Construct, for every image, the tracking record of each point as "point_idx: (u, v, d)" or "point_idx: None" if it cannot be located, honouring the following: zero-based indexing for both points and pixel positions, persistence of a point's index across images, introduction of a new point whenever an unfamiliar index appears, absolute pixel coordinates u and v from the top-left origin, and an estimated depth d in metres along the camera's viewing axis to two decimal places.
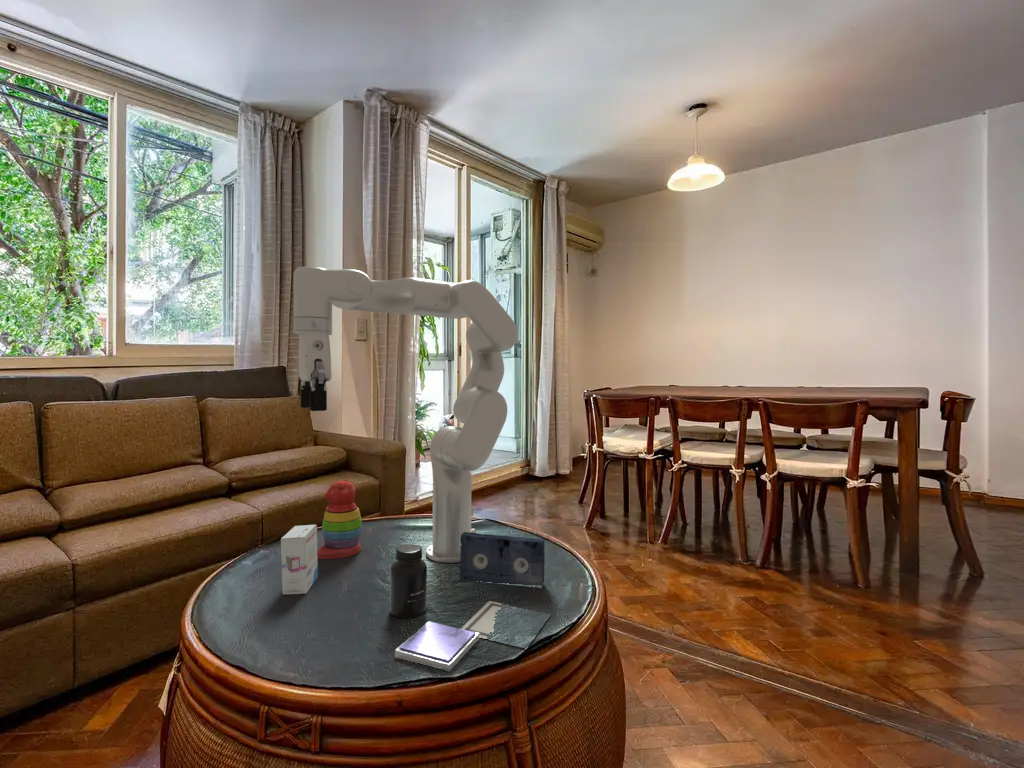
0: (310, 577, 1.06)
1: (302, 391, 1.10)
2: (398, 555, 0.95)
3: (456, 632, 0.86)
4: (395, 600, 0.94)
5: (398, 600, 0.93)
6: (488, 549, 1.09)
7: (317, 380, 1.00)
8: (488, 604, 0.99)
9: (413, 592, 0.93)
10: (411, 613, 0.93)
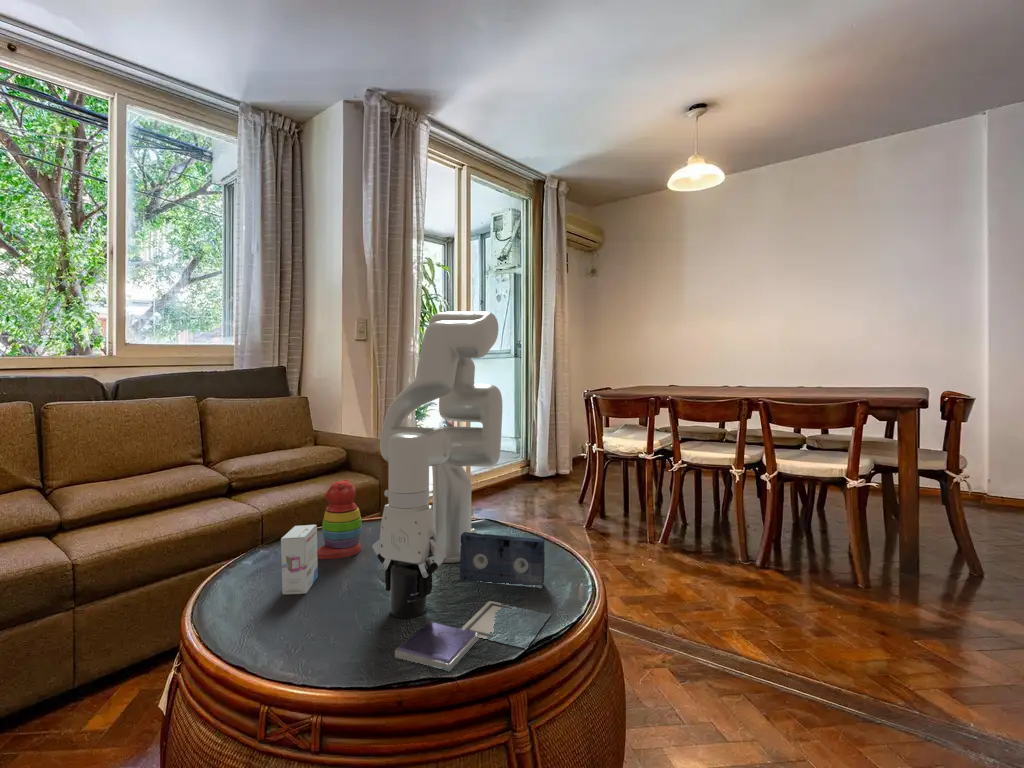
0: (310, 577, 1.06)
1: None
2: None
3: (456, 632, 0.86)
4: (395, 600, 0.94)
5: (398, 599, 0.93)
6: (488, 549, 1.09)
7: None
8: (488, 604, 0.99)
9: (413, 591, 0.93)
10: (411, 613, 0.93)
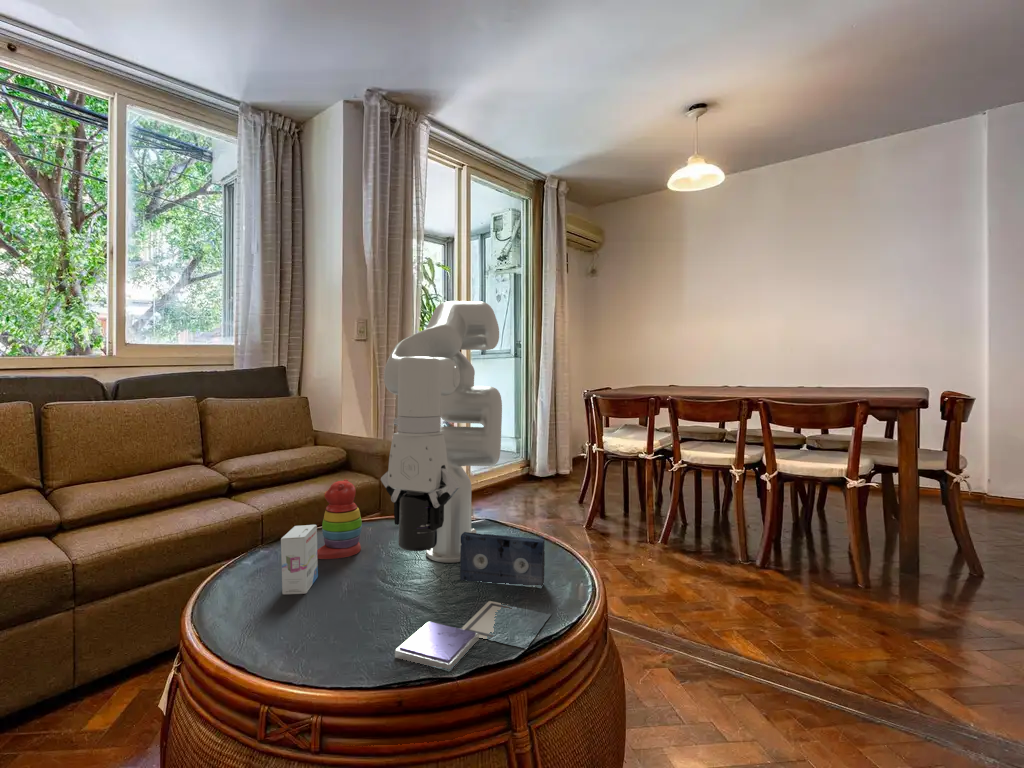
0: (310, 577, 1.06)
1: None
2: None
3: (456, 632, 0.86)
4: (404, 532, 0.88)
5: (408, 531, 0.88)
6: (488, 549, 1.09)
7: None
8: (488, 604, 0.99)
9: (423, 523, 0.88)
10: (421, 546, 0.88)
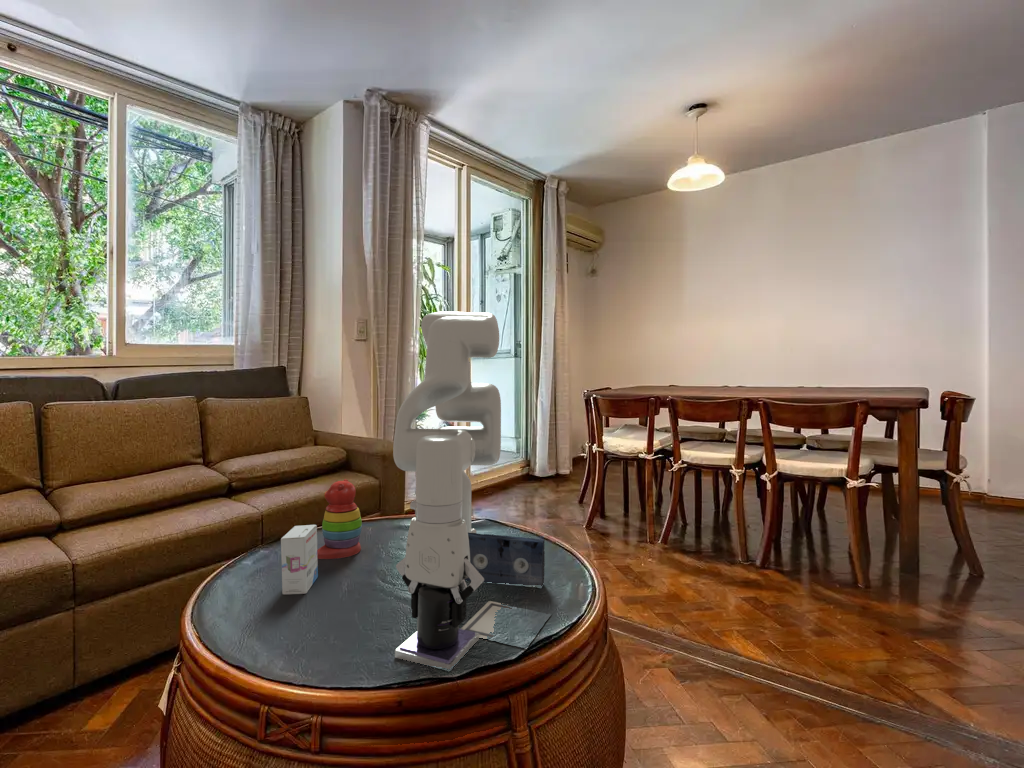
0: (310, 577, 1.06)
1: None
2: None
3: None
4: (424, 629, 0.81)
5: (428, 628, 0.80)
6: (488, 549, 1.09)
7: None
8: (488, 604, 0.99)
9: (445, 619, 0.80)
10: (443, 644, 0.80)
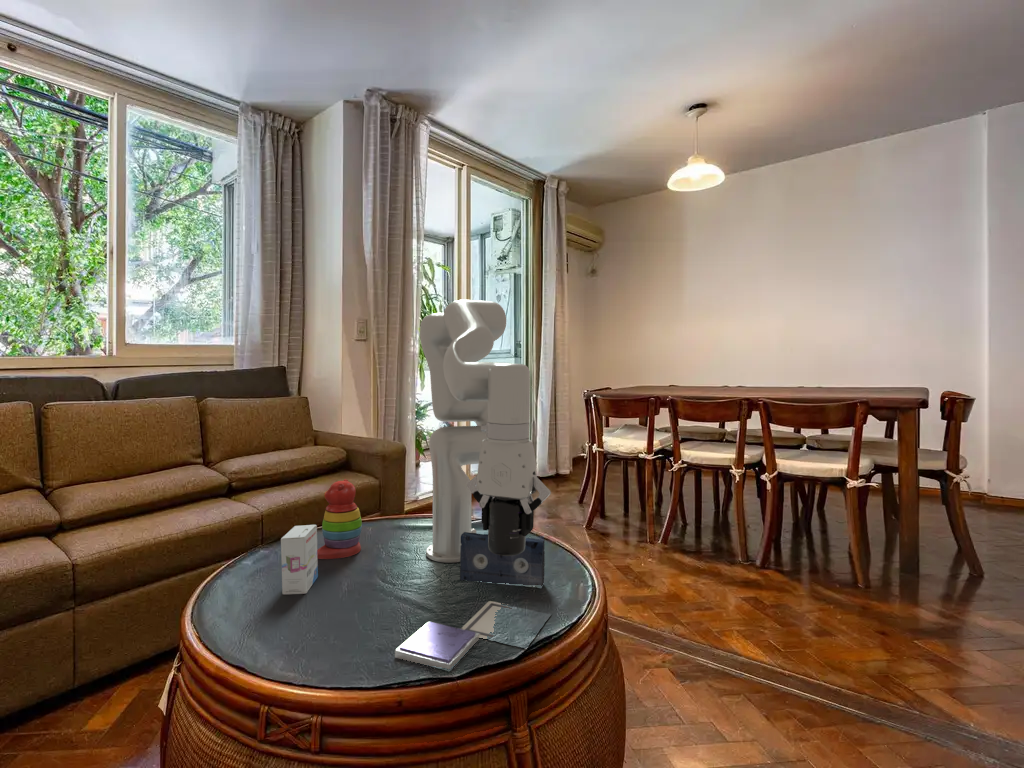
0: (310, 577, 1.06)
1: None
2: None
3: (456, 632, 0.86)
4: (496, 537, 0.89)
5: (500, 536, 0.88)
6: (488, 549, 1.09)
7: None
8: (488, 604, 0.99)
9: (516, 528, 0.88)
10: (513, 550, 0.88)
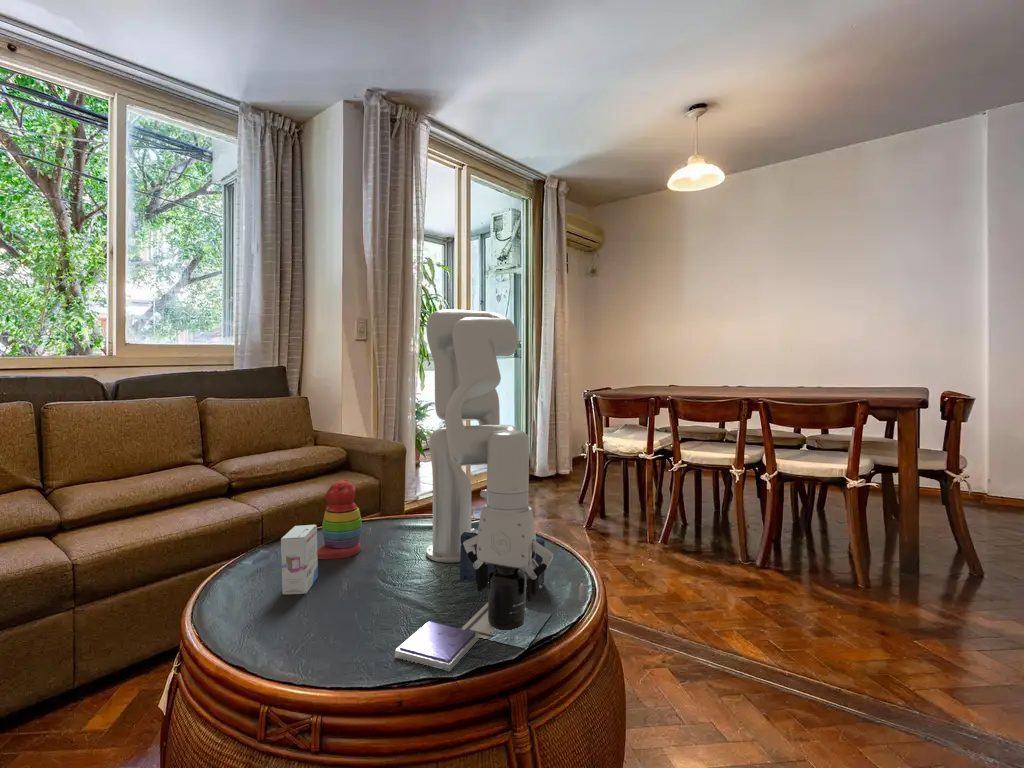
0: (310, 577, 1.06)
1: None
2: None
3: (456, 632, 0.86)
4: (496, 611, 0.89)
5: (500, 611, 0.89)
6: None
7: None
8: None
9: (515, 603, 0.89)
10: (513, 625, 0.89)
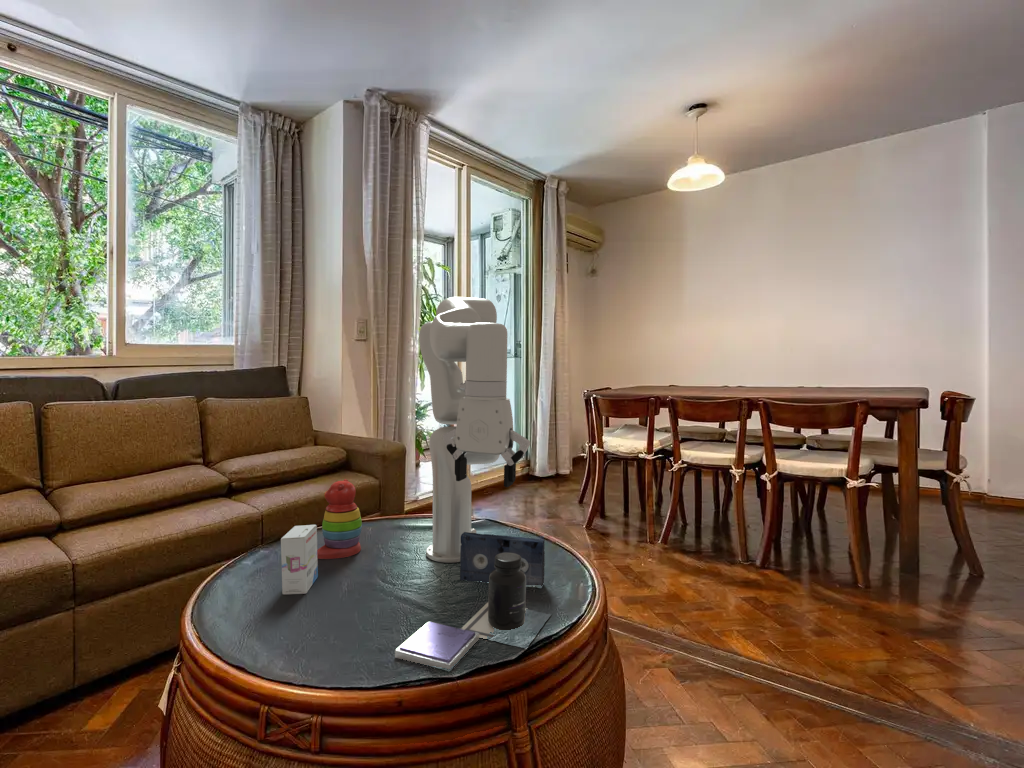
0: (310, 577, 1.06)
1: None
2: (498, 564, 0.90)
3: (456, 632, 0.86)
4: (496, 611, 0.89)
5: (500, 611, 0.89)
6: (488, 549, 1.09)
7: None
8: None
9: (515, 602, 0.89)
10: (513, 625, 0.89)
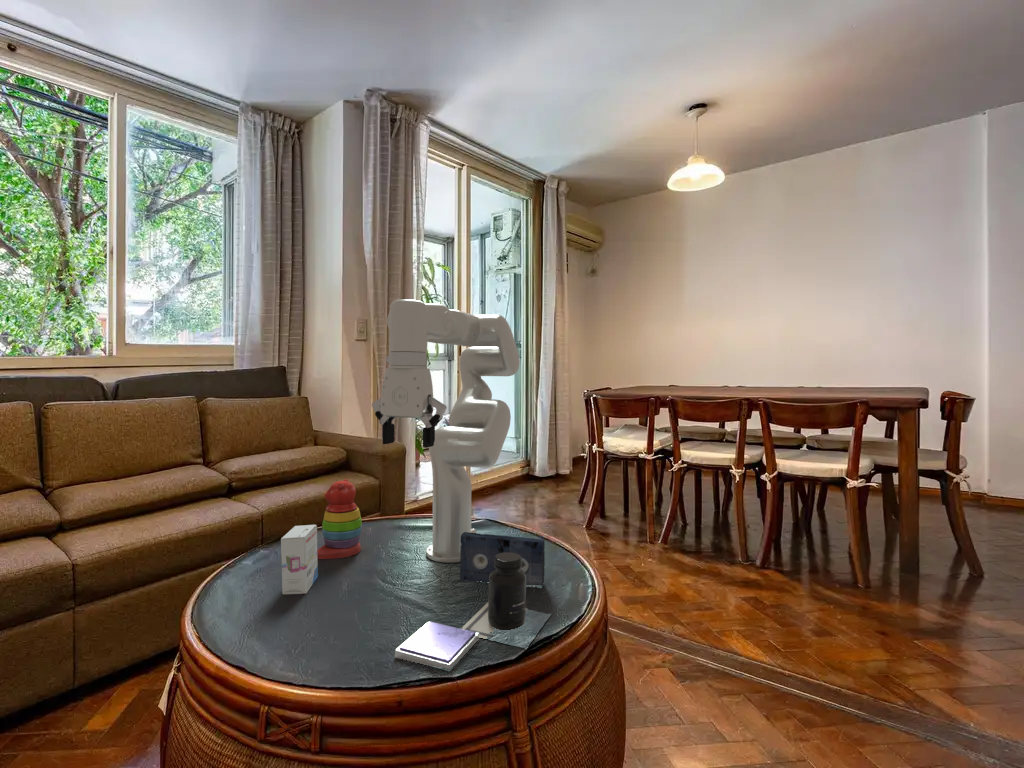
0: (310, 577, 1.06)
1: None
2: (498, 564, 0.90)
3: (456, 632, 0.86)
4: (496, 611, 0.89)
5: (500, 611, 0.89)
6: (488, 549, 1.09)
7: None
8: None
9: (515, 603, 0.89)
10: (513, 625, 0.89)
